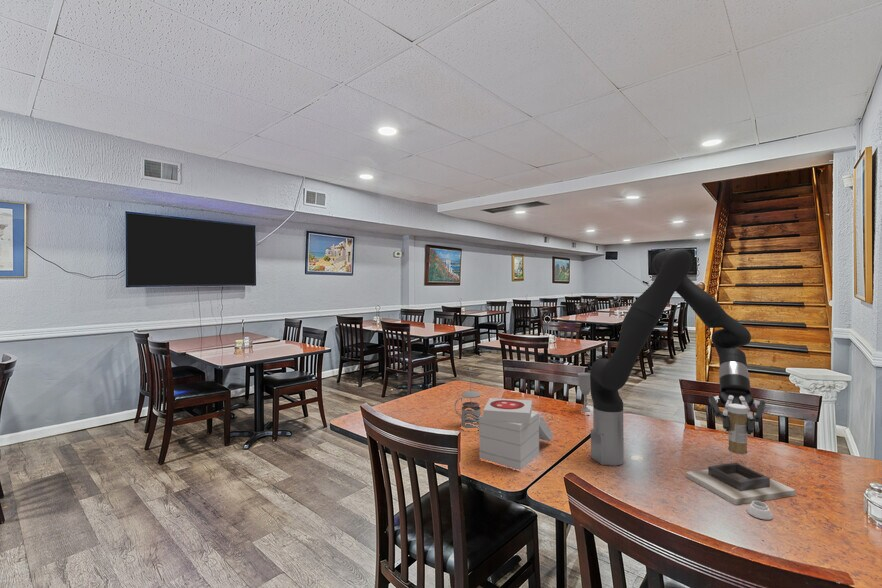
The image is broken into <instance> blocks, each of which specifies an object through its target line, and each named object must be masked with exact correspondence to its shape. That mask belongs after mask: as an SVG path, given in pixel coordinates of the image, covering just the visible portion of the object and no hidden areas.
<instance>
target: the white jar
mask: <svg viewBox="0 0 882 588" xmlns="http://www.w3.org/2000/svg"><path fill="white" fill-rule="evenodd" d="M746 511H747V513H748V514H749V515H751V516H752V517H755V518H756V519H760V520H765V521H766V520H768V521H769V520H772V519H773V518H774V515H773V513H772V510H771V509H770V508H769V506H768V504H766V503H765V502H764V501H752V502H751V503H749V505H748V507H747V508H746Z"/></svg>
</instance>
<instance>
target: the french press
mask: <svg viewBox="0 0 882 588" xmlns="http://www.w3.org/2000/svg"><path fill="white" fill-rule="evenodd" d="M468 371H470V372H469V373H470V379H469V380H470V381H469V382H470V383H469V384H470V385H469V386H470V388H469V390H466V391H464V392H462V393H461V394H460V396H461V397H459V398H457V399H456V400H455V402H454V410H455V413H456V414H457V415H458V416H459V417H460V418H461V425H462V426H463V427H465V428H478V427H479V426H478V427H476V426H473V425H470V424H466V425H465V423H471V424H474V425H479V416H481V407H480V403H478V402H477V401H467V402H466V401H465V402H463V398H466V399H477V398H480V397H481V393H480V392H478V391H475V390H472V375H471V374H472V371H474V369H473V367H472V366H471V367H468ZM460 400H461V402H463V403H462V404H461V406H462V407H461V413H459V412H458V411H457V409H456V407H457V406H456V405H457V404H458V402H459V401H460ZM473 422H477V423H473Z"/></svg>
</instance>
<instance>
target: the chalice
mask: <svg viewBox="0 0 882 588" xmlns="http://www.w3.org/2000/svg"><path fill="white" fill-rule="evenodd" d="M577 375H578V387H579V390H580V392H581V394H582V395H583V396H584V397H583V400H584V402H583V405H584V407H582V408H581V410H580V412H581V411H582V412H591V410H590V409H589V408H588V402H587V400H588V397H587V395H589V394H590V393H591V387H590V372H577ZM586 406H587V407H586Z"/></svg>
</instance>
